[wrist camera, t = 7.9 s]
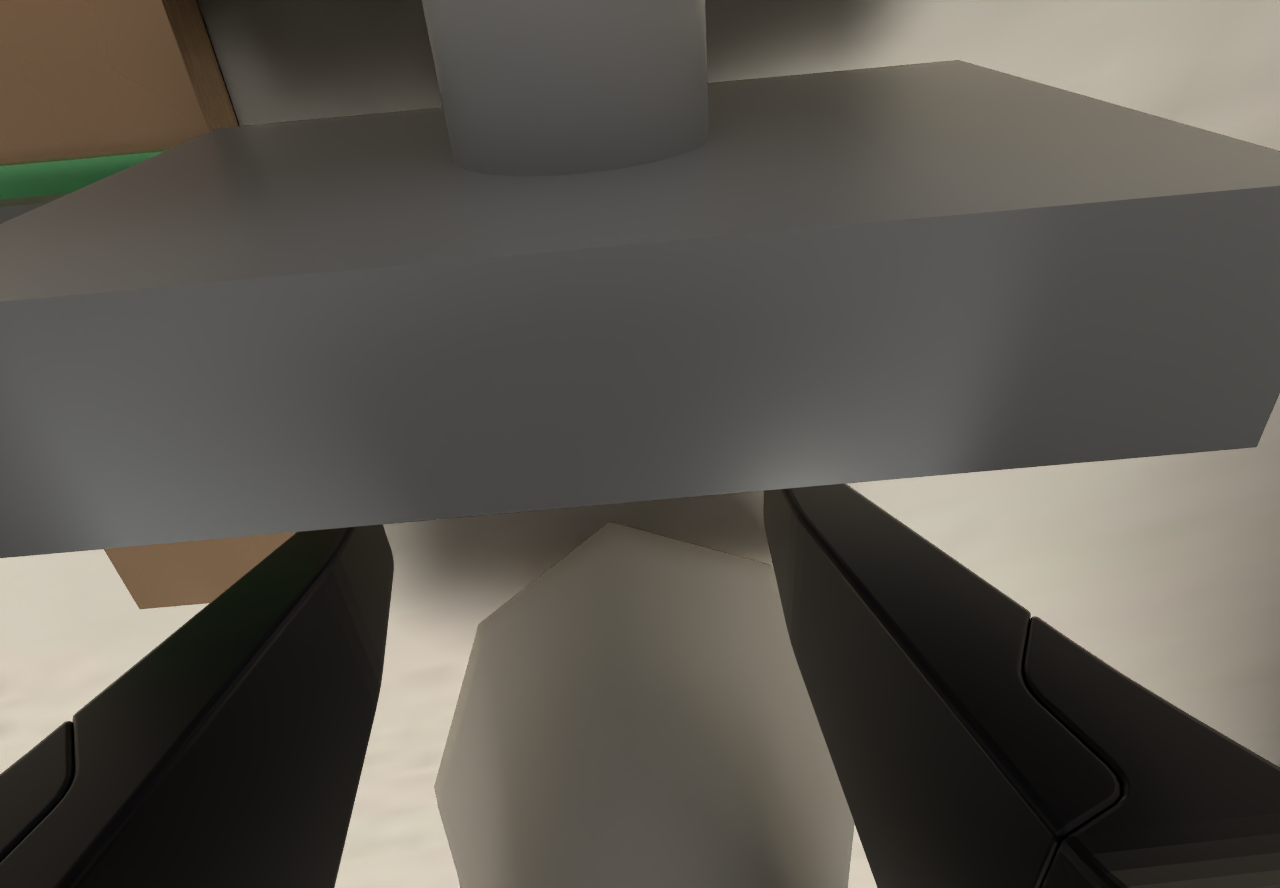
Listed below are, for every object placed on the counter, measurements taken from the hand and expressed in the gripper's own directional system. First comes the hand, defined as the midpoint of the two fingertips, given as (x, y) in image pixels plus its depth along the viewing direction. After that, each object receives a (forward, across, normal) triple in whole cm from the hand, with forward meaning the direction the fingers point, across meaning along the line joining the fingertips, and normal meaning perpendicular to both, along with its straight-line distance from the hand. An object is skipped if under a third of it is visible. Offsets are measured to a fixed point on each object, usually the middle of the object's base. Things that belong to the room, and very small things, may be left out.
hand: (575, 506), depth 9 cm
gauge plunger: (+2, +1, -5) cm, 5 cm away
